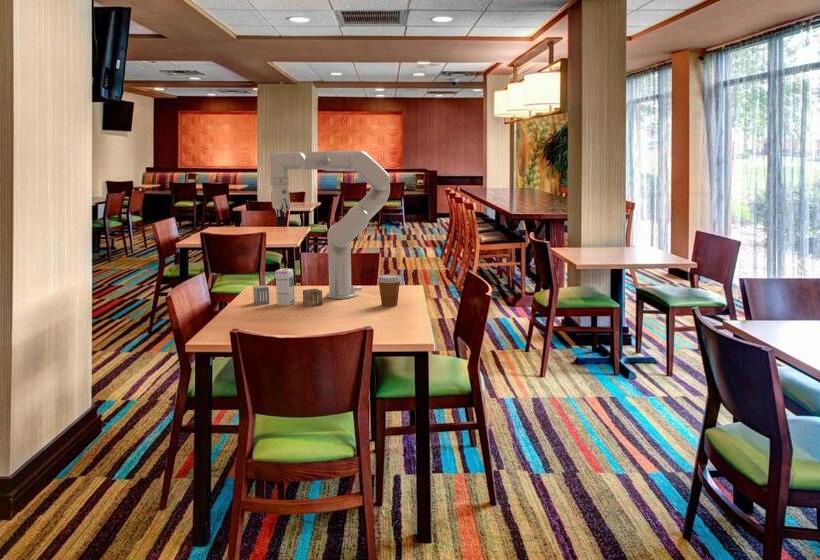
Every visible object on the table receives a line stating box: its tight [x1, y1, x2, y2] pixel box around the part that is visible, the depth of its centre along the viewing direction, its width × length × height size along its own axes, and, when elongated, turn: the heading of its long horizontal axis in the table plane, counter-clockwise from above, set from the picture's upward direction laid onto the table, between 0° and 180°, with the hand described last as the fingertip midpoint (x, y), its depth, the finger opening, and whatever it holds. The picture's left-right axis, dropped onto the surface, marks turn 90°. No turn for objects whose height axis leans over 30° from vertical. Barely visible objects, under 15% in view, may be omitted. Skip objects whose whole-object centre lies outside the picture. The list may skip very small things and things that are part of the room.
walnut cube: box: [302, 288, 323, 308], centre depth 296 cm, size 6×6×6 cm
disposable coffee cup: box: [376, 273, 402, 307], centre depth 293 cm, size 10×10×12 cm
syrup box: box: [274, 268, 296, 307], centre depth 296 cm, size 6×6×14 cm
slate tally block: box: [252, 285, 270, 306], centre depth 299 cm, size 5×5×7 cm
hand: (281, 225), depth 306 cm, fingers closed
